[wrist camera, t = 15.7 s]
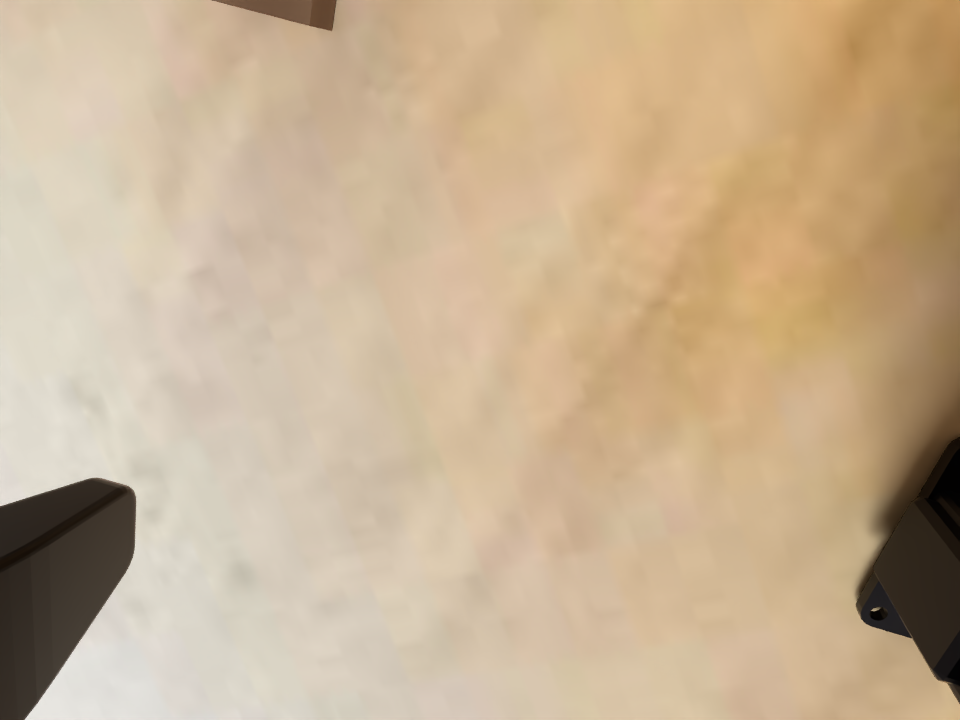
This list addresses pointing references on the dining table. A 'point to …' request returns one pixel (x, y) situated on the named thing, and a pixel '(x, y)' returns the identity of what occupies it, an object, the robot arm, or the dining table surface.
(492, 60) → the dining table surface
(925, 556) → the robot arm
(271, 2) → the walnut base board
